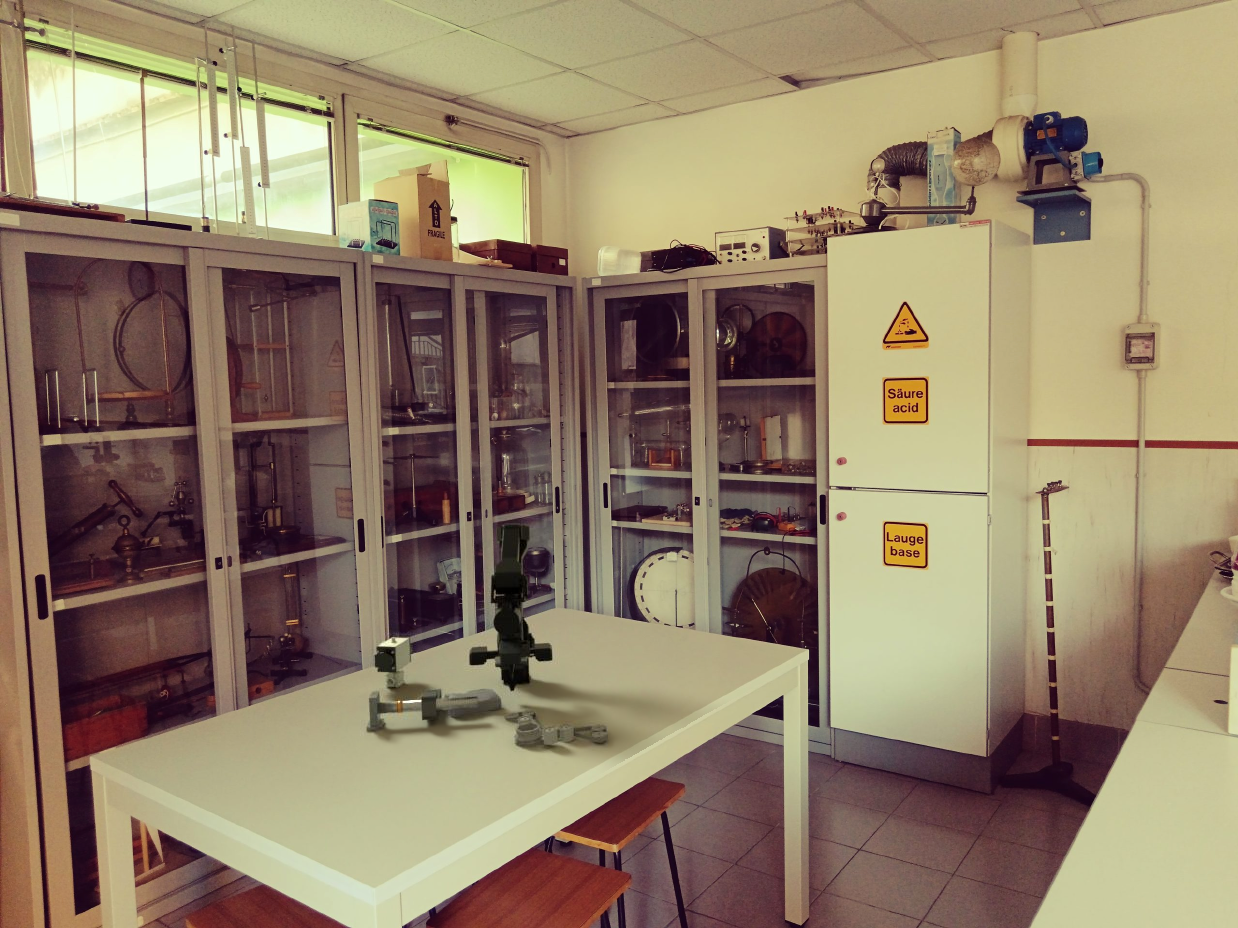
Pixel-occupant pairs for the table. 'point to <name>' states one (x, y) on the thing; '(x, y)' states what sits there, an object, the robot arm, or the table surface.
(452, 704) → the linear shaft assembly
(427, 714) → the collar
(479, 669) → the table surface
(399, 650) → the pneumatic valve
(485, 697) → the stone block
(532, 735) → the pulley system
